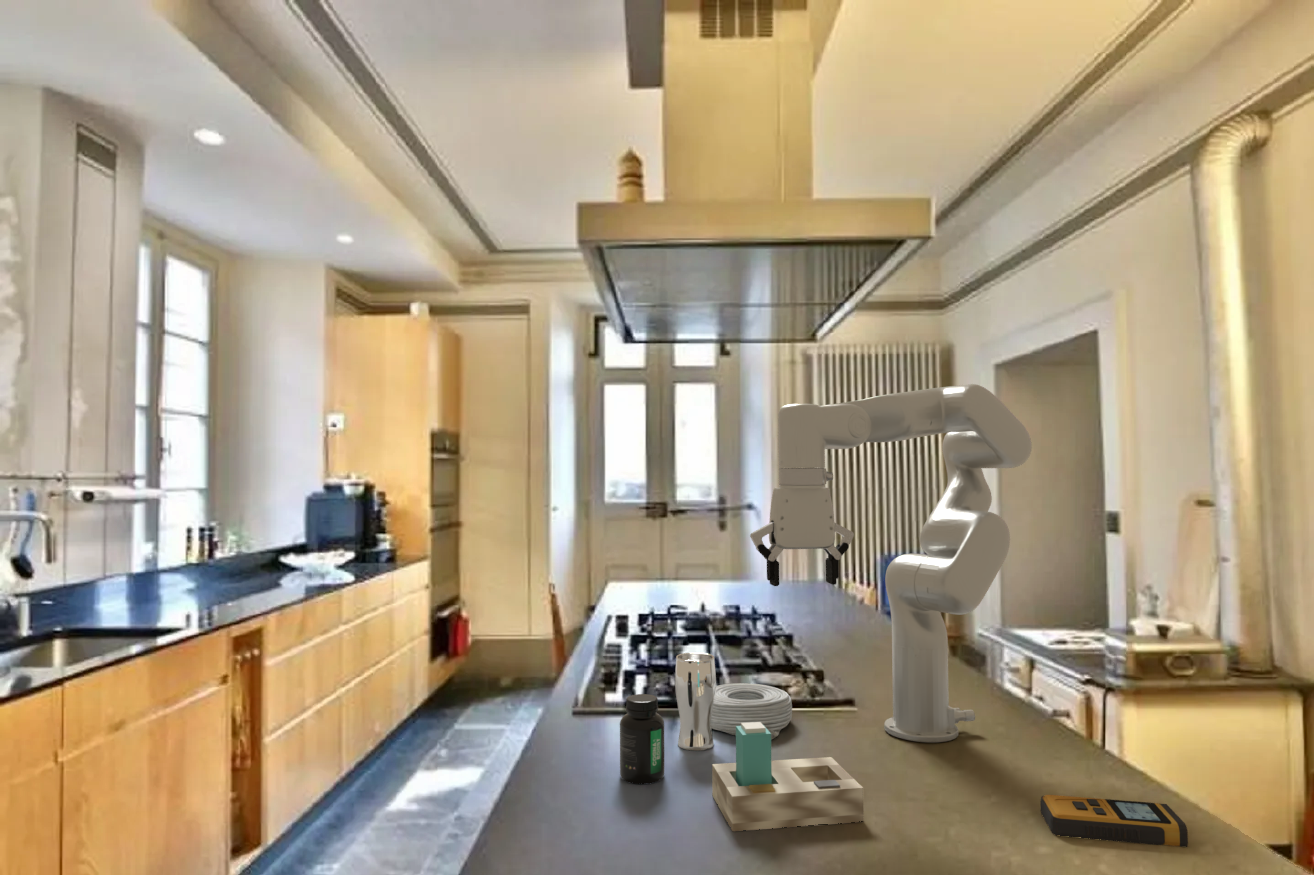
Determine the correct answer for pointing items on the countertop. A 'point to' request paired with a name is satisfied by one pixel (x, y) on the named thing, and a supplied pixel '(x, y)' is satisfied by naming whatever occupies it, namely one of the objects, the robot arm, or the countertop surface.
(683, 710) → the beer glass
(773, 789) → the socket block
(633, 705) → the supplement bottle
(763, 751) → the plug
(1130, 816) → the electronic device
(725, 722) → the cable
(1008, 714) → the countertop surface
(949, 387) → the robot arm
